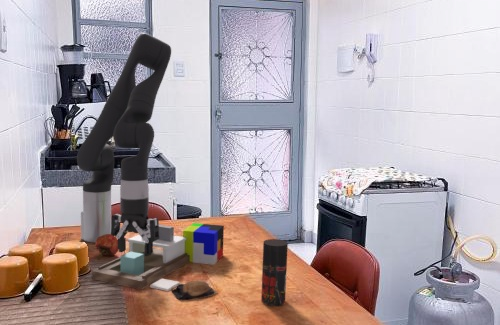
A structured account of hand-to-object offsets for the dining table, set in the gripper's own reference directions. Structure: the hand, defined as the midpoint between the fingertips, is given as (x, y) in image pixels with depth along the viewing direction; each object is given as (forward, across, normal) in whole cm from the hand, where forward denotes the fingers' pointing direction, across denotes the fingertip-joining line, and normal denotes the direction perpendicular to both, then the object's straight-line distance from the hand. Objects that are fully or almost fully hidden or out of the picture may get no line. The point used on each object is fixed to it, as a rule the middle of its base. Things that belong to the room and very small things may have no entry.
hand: (135, 253), depth 132 cm
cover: (+4, 0, -12) cm, 12 cm away
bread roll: (+7, -20, +3) cm, 22 cm away
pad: (+6, -11, +3) cm, 13 cm away
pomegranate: (+6, +18, -10) cm, 21 cm away
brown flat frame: (+6, +1, -5) cm, 8 cm away
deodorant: (+7, -40, -1) cm, 41 cm away
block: (+6, +1, 0) cm, 6 cm away
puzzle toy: (+7, -9, -22) cm, 25 cm away
